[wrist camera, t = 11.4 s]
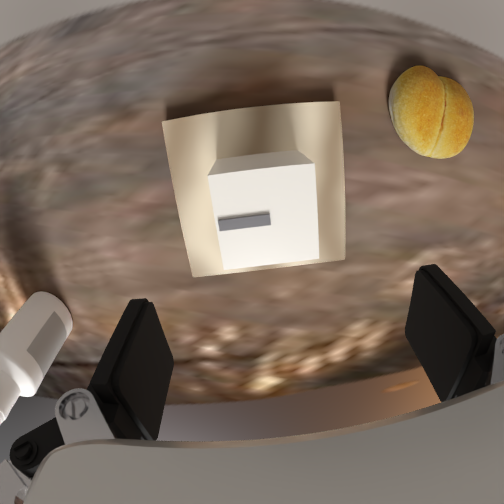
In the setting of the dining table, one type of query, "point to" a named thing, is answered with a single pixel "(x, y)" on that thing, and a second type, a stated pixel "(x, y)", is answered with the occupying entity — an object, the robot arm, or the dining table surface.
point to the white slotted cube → (265, 209)
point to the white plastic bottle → (30, 346)
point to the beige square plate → (248, 143)
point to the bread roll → (431, 113)
